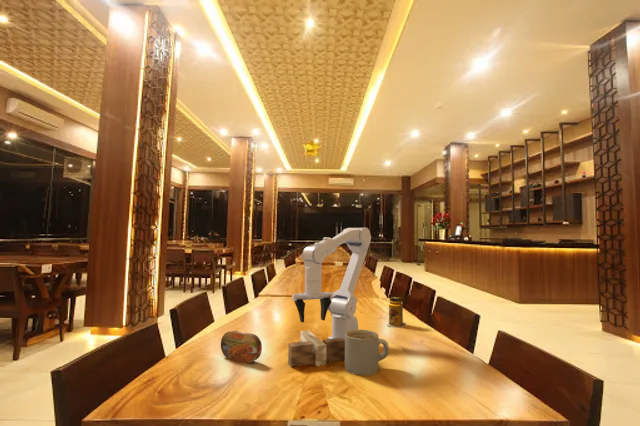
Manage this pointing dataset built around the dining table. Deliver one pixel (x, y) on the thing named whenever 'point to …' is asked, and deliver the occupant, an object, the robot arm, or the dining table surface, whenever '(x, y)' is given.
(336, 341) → the walnut slotted plate
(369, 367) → the coffee mug
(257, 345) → the tin
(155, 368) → the dining table surface
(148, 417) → the dining table surface
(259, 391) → the dining table surface
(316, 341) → the ash notched plate
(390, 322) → the condiment
